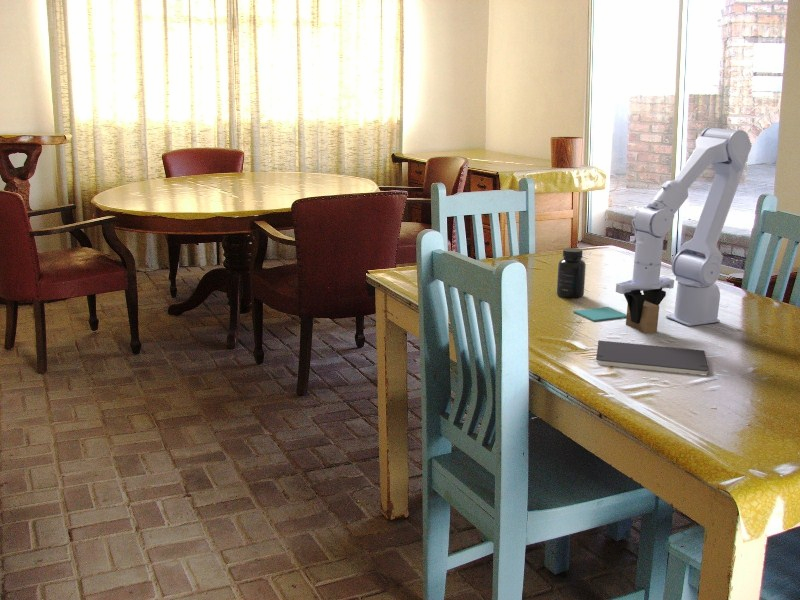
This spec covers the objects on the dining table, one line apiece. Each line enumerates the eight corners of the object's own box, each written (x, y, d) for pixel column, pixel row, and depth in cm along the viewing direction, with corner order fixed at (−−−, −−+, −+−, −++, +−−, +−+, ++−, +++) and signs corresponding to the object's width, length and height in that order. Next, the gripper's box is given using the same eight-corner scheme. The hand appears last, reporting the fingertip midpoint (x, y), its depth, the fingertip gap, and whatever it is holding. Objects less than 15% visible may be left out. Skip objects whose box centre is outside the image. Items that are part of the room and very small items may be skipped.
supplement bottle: (563, 290, 224) (566, 245, 221) (587, 295, 220) (591, 249, 217) (551, 296, 219) (554, 250, 215) (576, 301, 215) (580, 254, 212)
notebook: (703, 357, 177) (597, 347, 182) (704, 350, 176) (598, 340, 181) (708, 378, 165) (595, 366, 170) (709, 370, 165) (596, 359, 170)
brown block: (625, 324, 196) (628, 299, 194) (636, 323, 197) (638, 298, 196) (645, 333, 190) (648, 307, 188) (656, 332, 191) (659, 306, 190)
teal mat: (607, 308, 209) (607, 306, 209) (628, 317, 202) (629, 315, 202) (573, 312, 205) (573, 310, 205) (593, 321, 198) (593, 319, 198)
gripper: (632, 268, 183) (626, 329, 187) (686, 263, 189) (679, 323, 193) (612, 261, 189) (606, 320, 193) (664, 257, 195) (658, 314, 199)
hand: (641, 321), depth 193 cm, fingers closed on brown block, 3 cm apart
